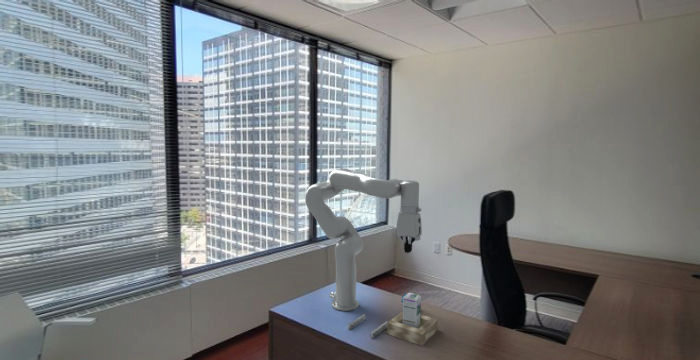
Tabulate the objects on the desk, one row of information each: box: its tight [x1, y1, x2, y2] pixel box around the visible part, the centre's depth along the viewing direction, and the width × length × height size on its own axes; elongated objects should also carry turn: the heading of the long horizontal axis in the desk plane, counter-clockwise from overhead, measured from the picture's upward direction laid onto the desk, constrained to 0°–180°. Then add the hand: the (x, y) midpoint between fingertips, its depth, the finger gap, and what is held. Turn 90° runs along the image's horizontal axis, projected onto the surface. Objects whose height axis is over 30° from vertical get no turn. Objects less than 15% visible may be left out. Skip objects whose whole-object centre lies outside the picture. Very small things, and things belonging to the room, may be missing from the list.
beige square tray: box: [386, 310, 439, 346], centre depth 150 cm, size 15×15×4 cm
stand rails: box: [347, 313, 389, 339], centre depth 152 cm, size 12×12×2 cm
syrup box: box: [402, 292, 422, 329], centre depth 150 cm, size 6×6×14 cm
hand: (407, 252), depth 160 cm, fingers closed
